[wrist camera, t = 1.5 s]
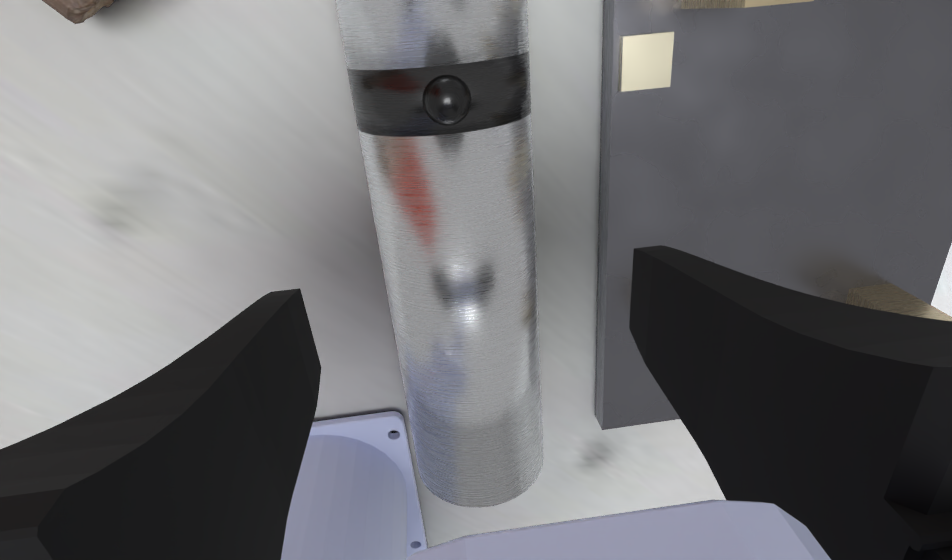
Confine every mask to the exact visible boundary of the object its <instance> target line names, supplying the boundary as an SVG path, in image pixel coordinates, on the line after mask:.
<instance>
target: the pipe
mask: <svg viewBox="0 0 952 560" xmlns="http://www.w3.org/2000/svg"><path fill="white" fill-rule="evenodd" d="M42 1H44V2H45V3H46V4H48V5H49V6H50V7H52V8H53V9H54V10H56V11H57V12H59V13H60V14H61V15H63V16H64V17H65V18H66V19H68V20H70V21H71V22H73V23H75V24H77V23H82V22H84V21H85V20H86V19H87V18H89V17H92V16H93V15H95V14H96V13H97V12H98V10H99V9H101V8H102V7H103V6H105V7H109V6H110V5H111V4H112V3H113V2H114V0H42Z"/></svg>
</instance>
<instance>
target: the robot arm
mask: <svg viewBox="0 0 952 560" xmlns="http://www.w3.org/2000/svg"><path fill="white" fill-rule="evenodd" d="M629 329H630V331H631V334H632V336H633V338H634V341H635V343H636V345H637V348H638V350H639V352H640V354H641V356H642V358H643V361H644V363H645V364H646V366H647V368H648V369H649V371H650V373H651V374H652V376H653V377H654V379H655V380H656V382H657V383H658V385H659V387H660V388H661V390H662V391H663V393H664V394H665V396H666V397H667V399H668V400H669V402H670V403H671V405H672V407H673V408H674V410H675V411H676V413H677V414H678V416H679V417H680V419H681V420H682V422H683V423H684V425H685V426H686V428H687V429H688V431H689V432H690V434H691V436H692V437H693V439H694V440H695V442H696V443H697V445H698V447H699V449H700V450H701V452H702V454H703V455H704V457H705V459H706V461H707V462H708V464H709V466H710V468H711V470H712V472H713V474H714V476H715V478H716V480H717V482H718V484H719V486H720V488H721V490H722V492H723V494H724V496H725V498H726V500H708V501H701V502H694V503H687V504H680V505H674V506H667V507H660V508H653V509H646V510H639V511H633V512H626V513H619V514H612V515H605V516H598V517H592V518H585V519H578V520H571V521H564V522H557V523H551V524H544V525H537V526H530V527H523V528H516V529H510V530H503V531H496V532H489V533H482V534H475V535H469V536H464V537H461V538H458V539H455V540H452V541H449V542H446V543H443V544H440V545H437V546H434V547H431V548H428V546H427V541H426V535H425V530H424V525H423V519H422V514H421V508H420V503H419V497H418V492H417V486H416V481H415V476H414V470H413V465H412V459H411V454H410V448H409V443H408V437H407V432H406V427H405V421H404V418H403V415H401V414H400V413H398V412H396V411H389V412H382V413H375V414H367V415H360V416H353V417H346V418H338V419H331V420H324V421H317V422H313V419H314V415H315V411H316V407H317V400H318V392H319V383H320V374H321V365H320V361H319V358H318V354H317V350H316V346H315V343H314V339H313V335H312V331H311V328H310V324H309V320H308V316H307V313H306V309H305V305H304V301H303V298H302V294H301V290H300V289H292V290H284V291H275V292H270V293H268V294H267V295H265V296H263V297H262V298H260V299H259V300H257V301H256V302H255V303H253V304H252V305H250V306H249V307H248V308H246V309H245V310H244V311H242V312H241V313H240V314H238V315H237V316H236V317H235V318H233V319H232V320H231V321H229V322H228V323H227V324H225V325H224V326H223V327H221V328H220V329H219V330H217V331H216V332H215V333H213V334H212V335H211V336H209V337H208V338H207V339H205V340H204V341H202V342H201V343H199V344H198V345H196V346H195V347H194V348H192V349H191V350H189V351H188V352H186V353H185V354H184V355H182V356H181V357H179V358H178V359H176V360H175V361H173V362H172V363H171V364H169V365H168V366H166V367H164V368H163V369H161V370H160V371H158V372H156V373H155V374H153V375H152V376H150V377H148V378H147V379H145V380H143V381H142V382H140V383H138V384H136V385H135V386H133V387H131V388H129V389H128V390H126V391H124V392H122V393H121V394H119V395H117V396H115V397H113V398H111V399H109V400H108V401H106V402H103V403H101V404H99V405H97V406H95V407H93V408H91V409H89V410H87V411H85V412H83V413H81V414H79V415H77V416H75V417H73V418H71V419H69V420H67V421H65V422H63V423H61V424H59V425H57V426H54V427H52V428H50V429H48V430H46V431H43V432H41V433H39V434H36V435H34V436H32V437H29V438H27V439H25V440H22V441H20V442H18V443H15V444H13V445H10V446H8V447H5V448H3V449H0V560H952V321H944V320H937V319H930V318H923V317H916V316H909V315H904V314H898V313H892V312H887V311H881V310H875V309H870V308H865V307H860V306H855V305H850V304H846V303H842V302H838V301H834V300H829V299H825V298H821V297H817V296H813V295H809V294H806V293H802V292H799V291H795V290H792V289H789V288H785V287H782V286H779V285H776V284H773V283H770V282H767V281H763V280H760V279H758V278H755V277H752V276H749V275H746V274H743V273H741V272H738V271H735V270H732V269H730V268H727V267H724V266H722V265H719V264H716V263H714V262H711V261H708V260H706V259H703V258H700V257H698V256H695V255H692V254H690V253H687V252H684V251H681V250H678V249H675V248H671V247H667V246H663V245H659V246H650V247H642V248H634V251H633V269H632V286H631V303H630V321H629ZM392 430H397V431H398V432H397V433H391V432H390V431H392Z"/></svg>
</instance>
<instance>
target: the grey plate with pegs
mask: <svg viewBox="0 0 952 560" xmlns="http://www.w3.org/2000/svg"><path fill="white" fill-rule="evenodd" d="M951 243H952V0H604V18H603V66H602V113H601V161H600V209H599V257H598V305H597V352H596V400H595V415H596V418H597V420H598V422H599V424H600V426H601V428H602V430H605V429H612V428H619V427H626V426H633V425H640V424H647V423H654V422H661V421H668V420H675V419H680V417H679V416H678V414H677V413H676V411H675V410H674V408H673V407H672V405H671V403H670V402H669V400H668V399H667V397H666V396H665V394H664V393H663V391H662V390H661V388H660V387H659V385H658V383H657V382H656V380H655V379H654V377H653V376H652V374H651V373H650V371H649V369H648V368H647V366H646V364H645V363H644V361H643V358H642V356H641V354H640V352H639V350H638V348H637V345H636V343H635V341H634V338H633V336H632V334H631V331H630V329H629V321H630V303H631V286H632V269H633V251H634V248H642V247H650V246H659V245H663V246H667V247H671V248H675V249H678V250H681V251H684V252H687V253H690V254H692V255H695V256H698V257H700V258H703V259H706V260H708V261H711V262H714V263H716V264H719V265H722V266H724V267H727V268H730V269H732V270H735V271H738V272H741V273H743V274H746V275H749V276H752V277H755V278H758V279H760V280H763V281H767V282H770V283H773V284H776V285H779V286H782V287H785V288H789V289H792V290H795V291H799V292H802V293H806V294H809V295H813V296H817V297H821V298H825V299H829V300H834V301H838V302H842V303H846V304H850V305H855V306H860V307H865V308H870V309H875V310H881V311H887V312H892V313H898V314H904V315H909V316H916V317H923V318H930V319H937V320H944V321H952V317H951V316H949V315H947V314H945V313H944V312H942V311H940V310H938V309H936V308H935V307H933V306H931V302H932V299H933V296H934V293H935V290H936V287H937V284H938V281H939V278H940V275H941V272H942V269H943V266H944V263H945V260H946V257H947V254H948V252H949V249H950V246H951Z"/></svg>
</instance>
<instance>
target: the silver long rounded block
mask: <svg viewBox="0 0 952 560" xmlns="http://www.w3.org/2000/svg"><path fill="white" fill-rule="evenodd" d="M335 2H336V8H337V14H338V19H339V25H340V31H341V36H342V42H343V47H344V53H345V59H346V64H347V70H348V76H349V81H350V87H351V92H352V98H353V104H354V109H355V115H356V121H357V126H358V132H359V137H360V143H361V149H362V154H363V160H364V166H365V171H366V177H367V182H368V188H369V194H370V199H371V205H372V211H373V216H374V222H375V227H376V233H377V239H378V244H379V250H380V256H381V261H382V267H383V272H384V278H385V284H386V289H387V295H388V301H389V306H390V312H391V317H392V323H393V329H394V334H395V340H396V346H397V351H398V357H399V362H400V368H401V374H402V379H403V385H404V391H405V396H406V402H407V408H408V413H409V419H410V424H411V430H412V436H413V441H414V447H415V453H416V458H417V464H418V469H419V473H420V477H421V479H422V481H423V483H424V484H425V485H426V487H427V488H428V489H429V490H430V491H431V492H432V493H433V494H435V495H436V496H437V497H439V498H441V499H442V500H444V501H446V502H449V503H452V504H455V505H459V506H465V507H488V506H493V505H498V504H501V503H504V502H507V501H509V500H511V499H513V498H515V497H517V496H519V495H520V494H522V493H523V492H524V491H526V490H527V489H528V488H529V487H530V486H531V485H532V484H533V483H534V481H535V480H536V479H537V477H538V475H539V473H540V471H541V468H542V465H543V434H542V406H541V378H540V351H539V323H538V295H537V267H536V239H535V212H534V184H533V156H532V128H531V100H530V73H529V45H528V17H527V0H335Z"/></svg>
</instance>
